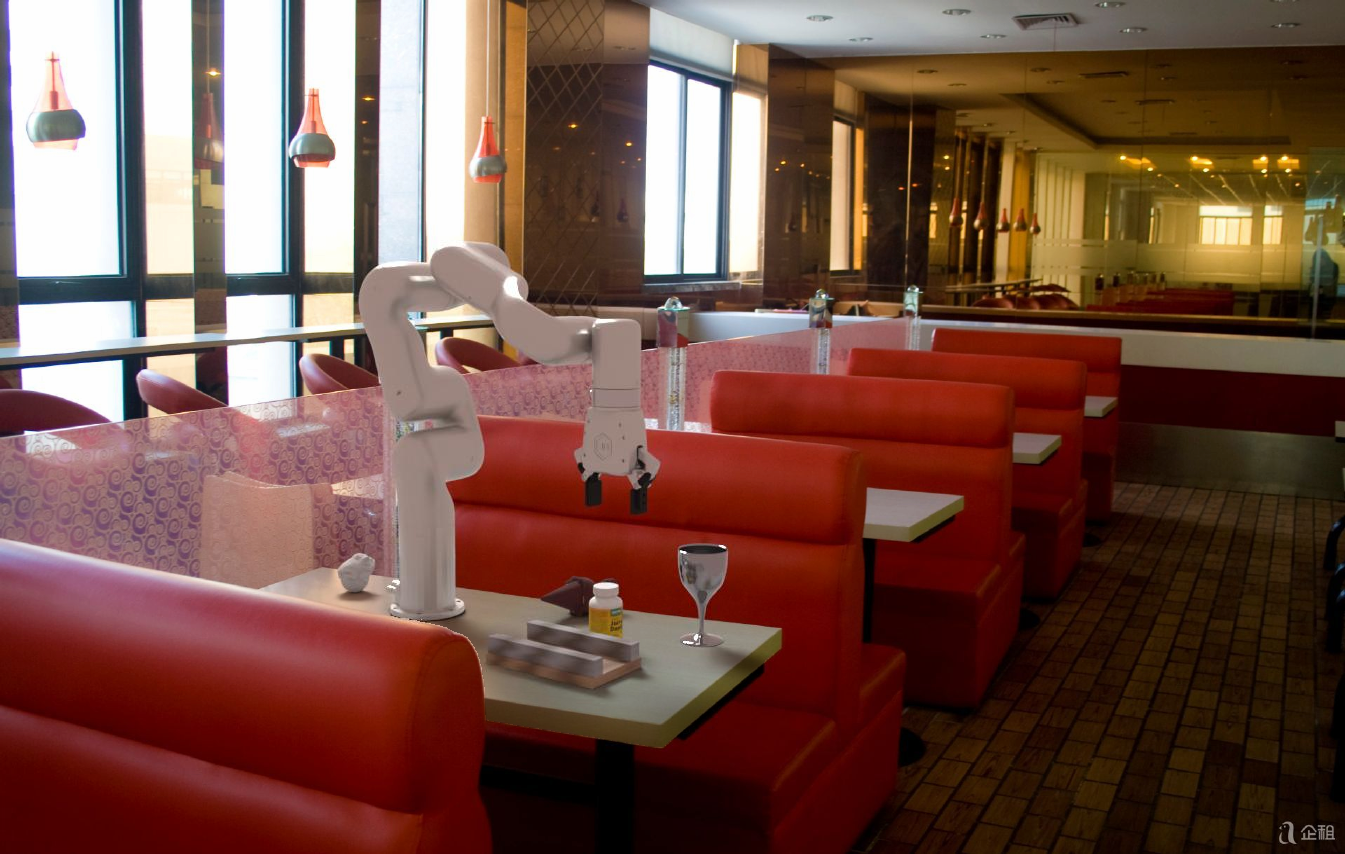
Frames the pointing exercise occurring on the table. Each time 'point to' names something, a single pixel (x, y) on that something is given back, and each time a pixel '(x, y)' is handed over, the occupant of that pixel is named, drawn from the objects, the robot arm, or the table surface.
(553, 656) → the sliding track
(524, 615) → the table surface
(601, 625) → the supplement bottle
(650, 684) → the table surface
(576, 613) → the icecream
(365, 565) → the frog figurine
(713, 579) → the wine glass
